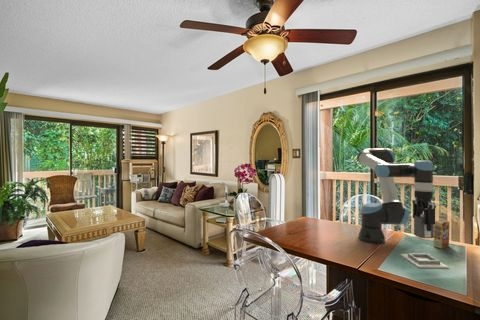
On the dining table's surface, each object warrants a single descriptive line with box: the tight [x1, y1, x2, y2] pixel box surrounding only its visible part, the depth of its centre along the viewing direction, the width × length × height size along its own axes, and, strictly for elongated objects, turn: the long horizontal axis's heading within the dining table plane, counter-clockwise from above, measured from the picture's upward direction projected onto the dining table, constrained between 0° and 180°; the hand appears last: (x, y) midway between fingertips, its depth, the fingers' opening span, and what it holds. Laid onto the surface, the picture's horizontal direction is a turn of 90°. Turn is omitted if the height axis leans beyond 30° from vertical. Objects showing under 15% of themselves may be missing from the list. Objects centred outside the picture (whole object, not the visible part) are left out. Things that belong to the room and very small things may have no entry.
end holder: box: [400, 252, 450, 269], centre depth 119 cm, size 14×14×2 cm
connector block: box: [413, 213, 434, 239], centre depth 119 cm, size 5×6×12 cm
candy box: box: [432, 219, 451, 249], centre depth 138 cm, size 9×4×15 cm, turn 115°
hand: (423, 234), depth 119 cm, fingers closed on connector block, 5 cm apart
